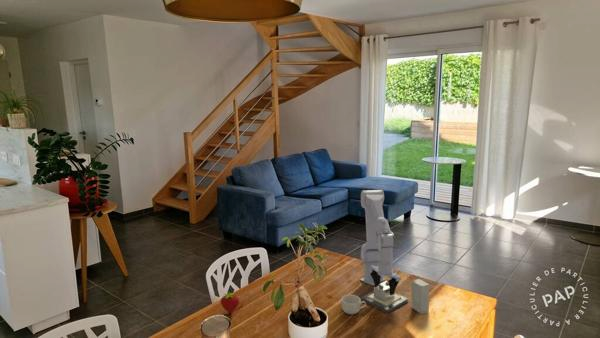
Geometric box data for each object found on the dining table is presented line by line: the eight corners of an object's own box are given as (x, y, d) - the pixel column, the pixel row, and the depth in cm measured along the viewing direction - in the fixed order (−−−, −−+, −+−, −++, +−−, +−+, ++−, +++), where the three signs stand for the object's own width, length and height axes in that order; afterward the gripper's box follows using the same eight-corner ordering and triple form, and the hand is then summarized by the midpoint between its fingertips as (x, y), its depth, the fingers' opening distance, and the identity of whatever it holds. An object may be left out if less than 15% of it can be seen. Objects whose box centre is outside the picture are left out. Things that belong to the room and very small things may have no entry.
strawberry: (237, 318, 154) (236, 294, 153) (219, 317, 155) (218, 293, 154) (241, 310, 160) (240, 287, 159) (223, 309, 161) (222, 286, 159)
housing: (373, 297, 165) (374, 285, 165) (385, 291, 171) (385, 279, 170) (383, 302, 162) (383, 289, 161) (394, 295, 167) (395, 283, 166)
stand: (381, 290, 176) (381, 285, 176) (407, 301, 166) (407, 297, 165) (361, 300, 167) (361, 295, 167) (387, 313, 157) (387, 308, 156)
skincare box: (429, 312, 157) (430, 284, 155) (420, 314, 156) (422, 286, 153) (418, 305, 163) (419, 278, 161) (410, 307, 161) (411, 280, 159)
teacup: (342, 316, 155) (342, 304, 154) (340, 306, 162) (340, 294, 161) (367, 316, 155) (367, 304, 154) (364, 306, 162) (364, 294, 161)
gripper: (365, 258, 166) (365, 288, 169) (394, 269, 155) (392, 300, 158) (376, 254, 171) (375, 283, 173) (404, 264, 160) (403, 295, 162)
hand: (384, 291), depth 166 cm, fingers open, 7 cm apart
